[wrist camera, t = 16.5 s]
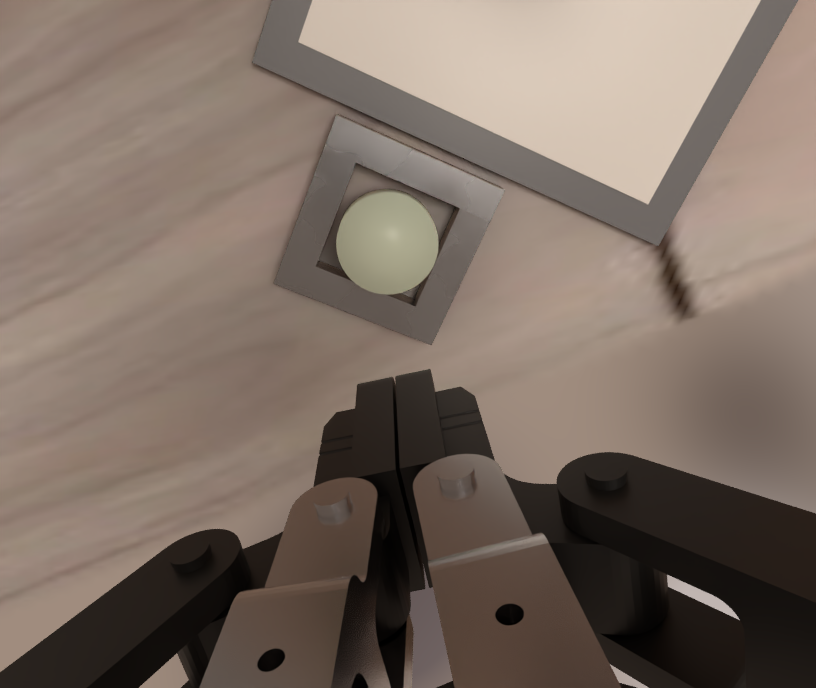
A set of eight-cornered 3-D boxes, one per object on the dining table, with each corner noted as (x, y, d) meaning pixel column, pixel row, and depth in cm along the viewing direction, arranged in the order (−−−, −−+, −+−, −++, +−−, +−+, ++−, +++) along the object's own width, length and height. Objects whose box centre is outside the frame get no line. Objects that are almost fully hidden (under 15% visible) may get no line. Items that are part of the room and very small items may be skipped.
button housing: (277, 276, 31) (273, 283, 30) (337, 113, 29) (336, 114, 28) (429, 336, 33) (431, 345, 32) (500, 186, 30) (504, 190, 29)
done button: (323, 264, 30) (321, 272, 28) (360, 172, 28) (358, 176, 27) (412, 300, 30) (413, 309, 29) (451, 212, 29) (455, 218, 28)
